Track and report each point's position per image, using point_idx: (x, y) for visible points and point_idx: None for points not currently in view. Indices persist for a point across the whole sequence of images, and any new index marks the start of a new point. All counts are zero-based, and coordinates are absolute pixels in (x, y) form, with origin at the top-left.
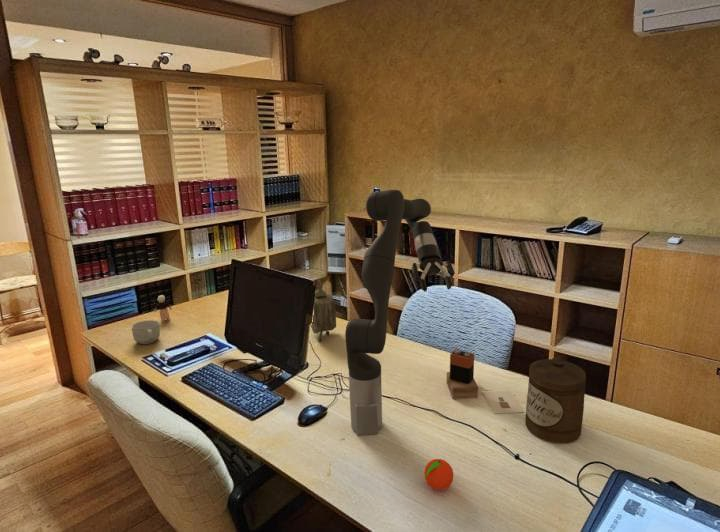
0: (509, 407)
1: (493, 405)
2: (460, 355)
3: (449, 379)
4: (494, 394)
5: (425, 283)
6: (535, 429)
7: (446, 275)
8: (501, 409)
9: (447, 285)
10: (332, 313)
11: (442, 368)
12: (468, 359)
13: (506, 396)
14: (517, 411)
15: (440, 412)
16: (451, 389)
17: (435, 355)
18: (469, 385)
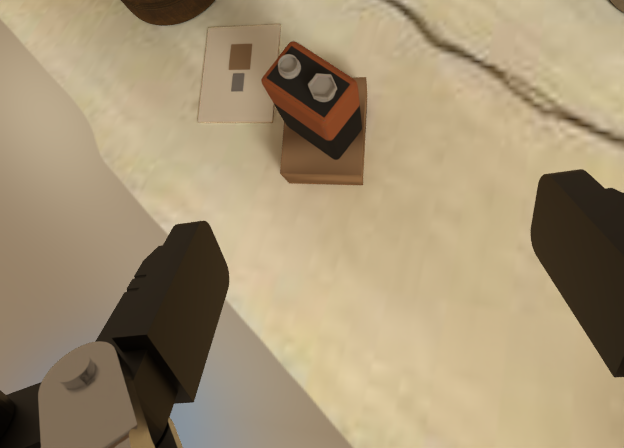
0: (233, 44)
1: (268, 56)
2: (319, 66)
3: (363, 130)
4: (245, 107)
5: (603, 224)
6: None
7: (123, 373)
8: (255, 38)
9: (210, 285)
10: None
11: (351, 280)
12: (296, 43)
13: (219, 95)
14: (221, 29)
15: (419, 34)
16: (365, 105)
17: (353, 386)
18: None
